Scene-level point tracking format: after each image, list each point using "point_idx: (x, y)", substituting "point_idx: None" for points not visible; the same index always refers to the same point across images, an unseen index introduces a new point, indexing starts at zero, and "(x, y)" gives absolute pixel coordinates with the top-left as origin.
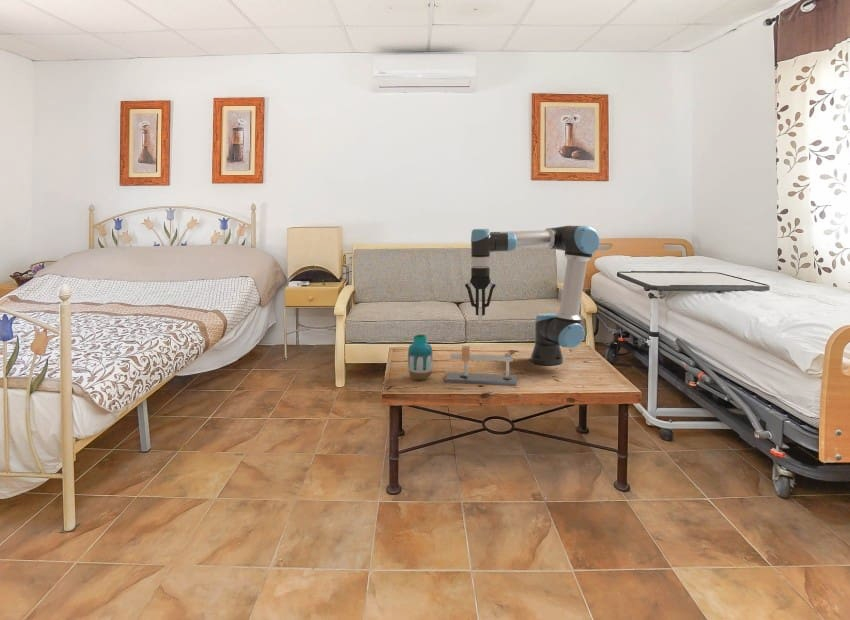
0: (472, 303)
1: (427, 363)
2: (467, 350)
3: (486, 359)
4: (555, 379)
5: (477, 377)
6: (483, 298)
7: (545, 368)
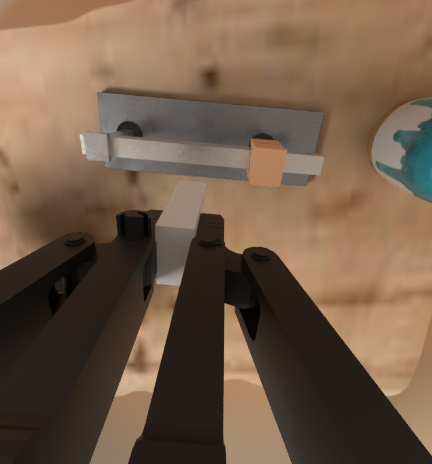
0: (266, 267)
1: (415, 109)
2: (260, 146)
3: (184, 141)
4: (3, 161)
5: (219, 139)
6: (88, 300)
7: None
